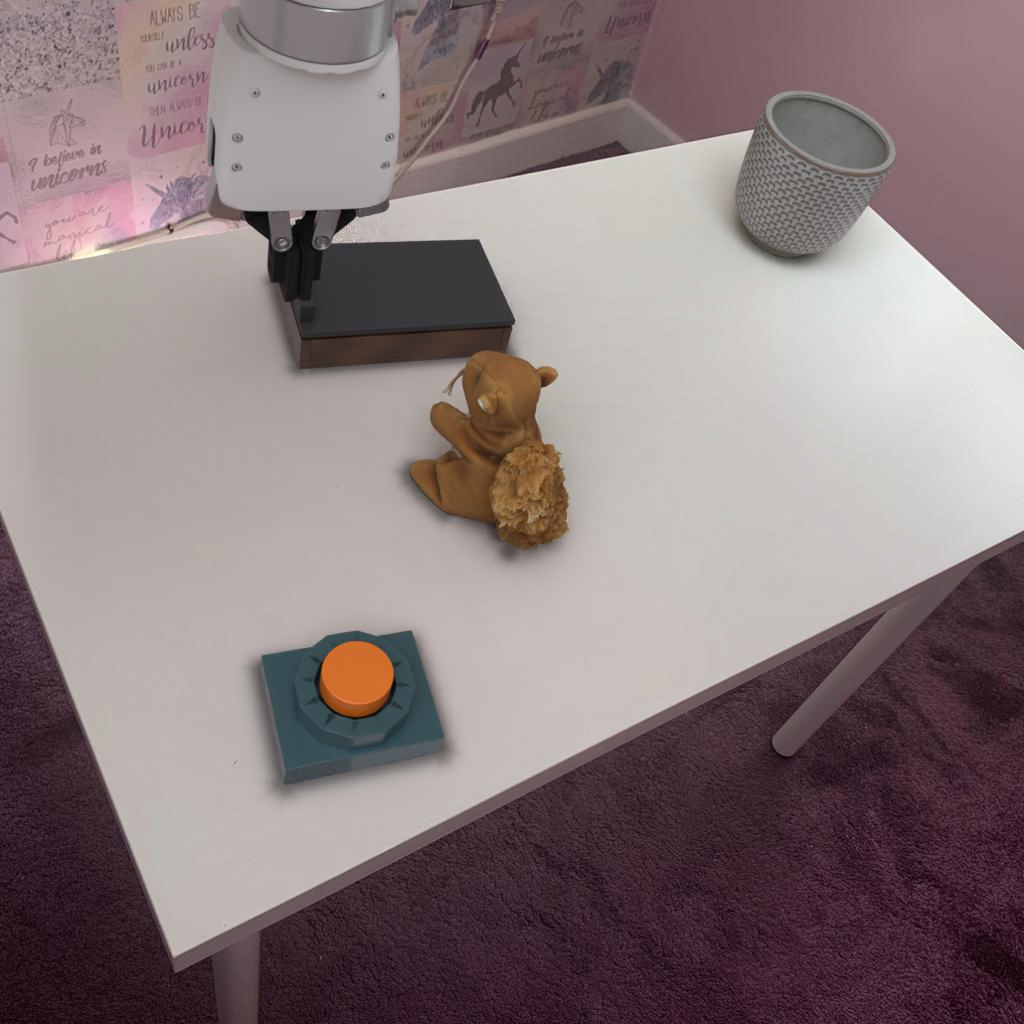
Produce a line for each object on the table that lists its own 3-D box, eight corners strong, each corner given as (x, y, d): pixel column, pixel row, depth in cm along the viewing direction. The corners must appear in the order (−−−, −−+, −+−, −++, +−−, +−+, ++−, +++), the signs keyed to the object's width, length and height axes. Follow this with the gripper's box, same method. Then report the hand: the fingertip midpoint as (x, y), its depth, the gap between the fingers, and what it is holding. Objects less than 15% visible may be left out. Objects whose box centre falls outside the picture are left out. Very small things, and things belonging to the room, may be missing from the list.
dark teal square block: (283, 785, 65) (287, 757, 62) (259, 671, 69) (262, 640, 66) (439, 752, 68) (450, 724, 65) (407, 646, 73) (416, 615, 69)
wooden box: (298, 369, 86) (301, 341, 84) (274, 281, 92) (275, 253, 89) (505, 354, 93) (513, 328, 90) (470, 273, 98) (476, 246, 96)
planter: (689, 211, 112) (735, 101, 102) (775, 185, 119) (826, 80, 109) (778, 294, 107) (836, 186, 97) (862, 261, 114) (925, 157, 104)
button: (327, 723, 64) (330, 710, 63) (312, 661, 66) (314, 646, 65) (398, 710, 65) (401, 696, 64) (380, 649, 68) (384, 635, 66)
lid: (302, 338, 83) (304, 317, 82) (276, 250, 89) (277, 229, 87) (514, 325, 90) (520, 306, 88) (478, 244, 96) (482, 224, 94)
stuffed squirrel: (500, 422, 87) (538, 301, 77) (596, 550, 81) (651, 438, 71) (394, 456, 83) (420, 333, 72) (488, 595, 77) (530, 482, 66)
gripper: (434, -24, 58) (389, 243, 72) (149, -41, 52) (160, 253, 66) (477, 52, 54) (420, 319, 68) (173, 43, 48) (180, 336, 62)
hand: (292, 286), depth 67 cm, fingers closed
